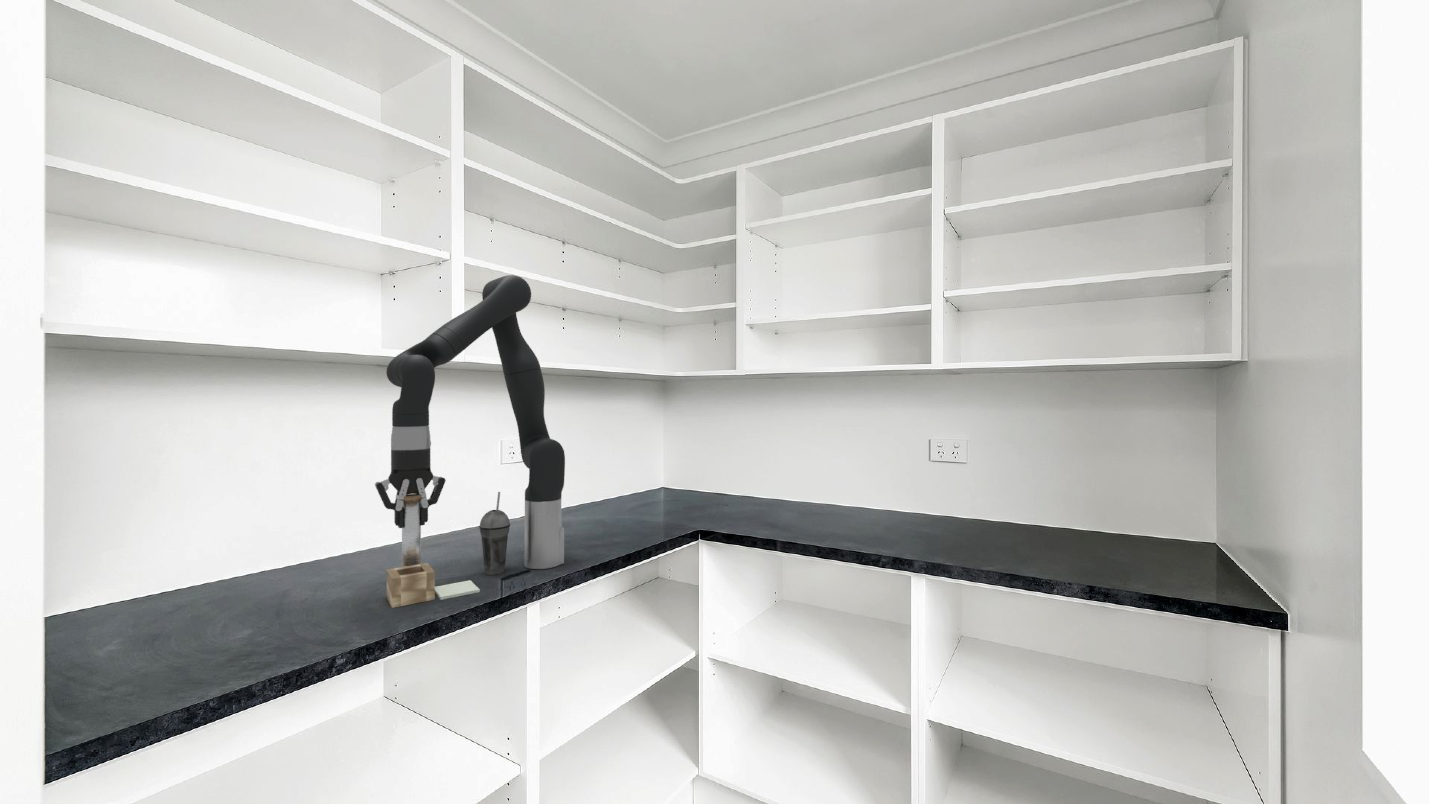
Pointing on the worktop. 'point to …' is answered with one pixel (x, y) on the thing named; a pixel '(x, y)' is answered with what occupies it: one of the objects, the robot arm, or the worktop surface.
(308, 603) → the worktop surface
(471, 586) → the sage mat
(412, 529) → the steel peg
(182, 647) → the worktop surface
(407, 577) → the oak eye block
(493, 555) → the beverage cup
